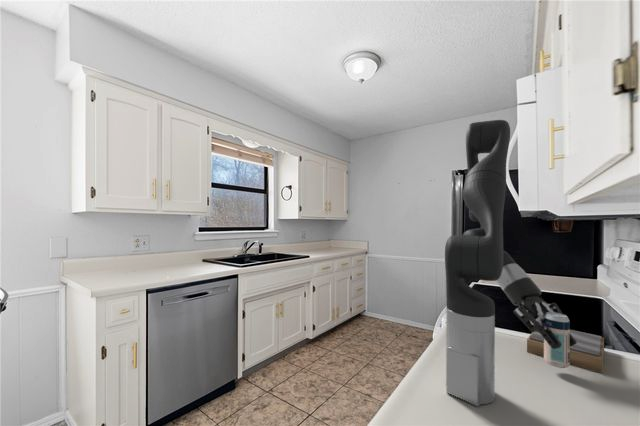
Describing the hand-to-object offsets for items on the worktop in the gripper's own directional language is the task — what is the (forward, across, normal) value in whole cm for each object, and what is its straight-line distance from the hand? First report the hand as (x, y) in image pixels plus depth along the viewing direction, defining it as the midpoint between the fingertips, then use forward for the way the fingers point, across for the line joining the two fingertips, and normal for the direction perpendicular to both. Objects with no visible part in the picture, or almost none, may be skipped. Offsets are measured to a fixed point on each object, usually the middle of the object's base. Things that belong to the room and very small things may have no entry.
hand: (565, 345), depth 67 cm
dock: (-1, +16, +11) cm, 19 cm away
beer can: (+2, 0, +5) cm, 6 cm away
